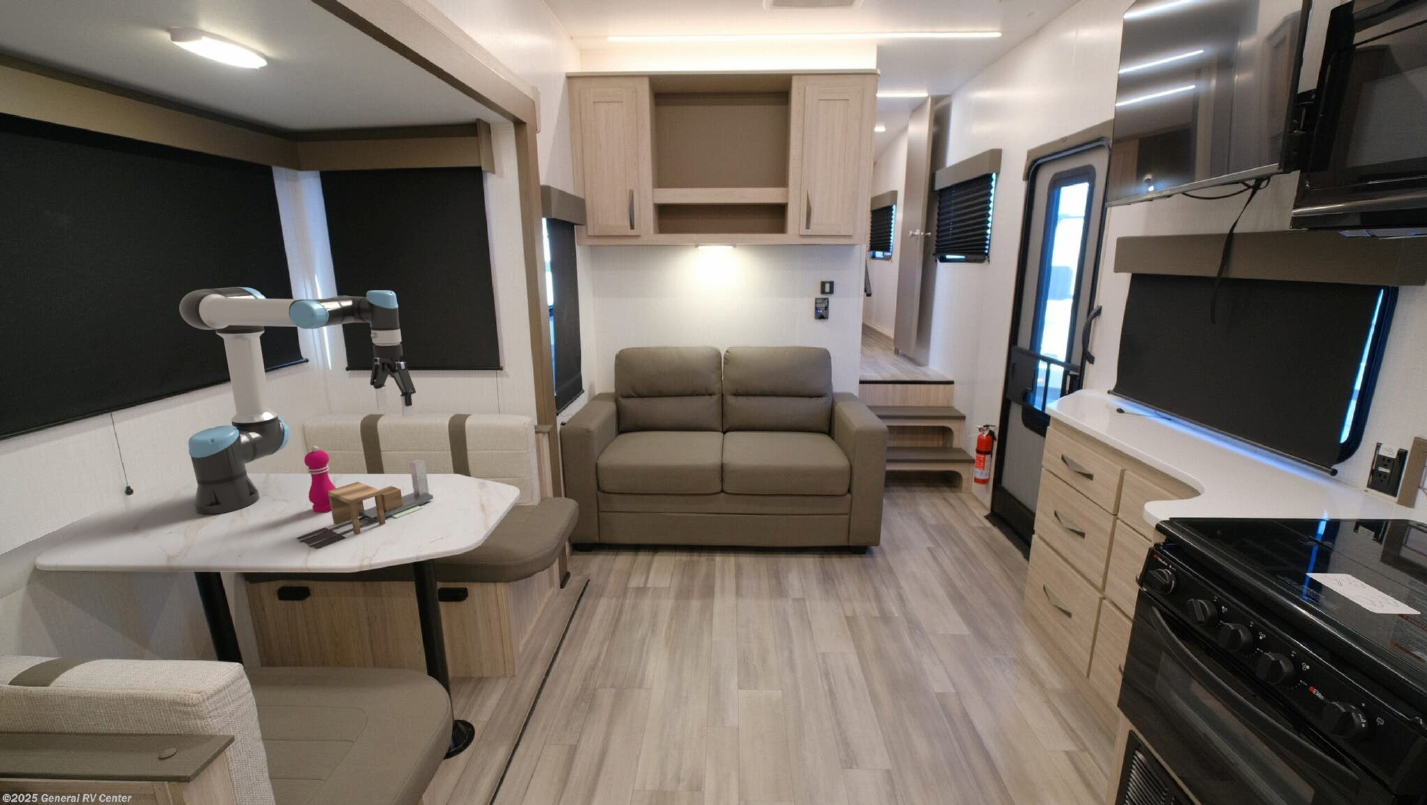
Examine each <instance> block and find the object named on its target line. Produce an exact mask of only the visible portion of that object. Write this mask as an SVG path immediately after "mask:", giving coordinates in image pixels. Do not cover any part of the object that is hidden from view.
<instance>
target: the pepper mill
mask: <svg viewBox="0 0 1427 805" xmlns="http://www.w3.org/2000/svg"><path fill="white" fill-rule="evenodd" d="M310 450H311V451H309V452H308V453H306V455H305V456H304V462H303V463H304V464H305V466H307V467H308V468H307V470H308V473H309V474H310V476H311V485H310V488H309V492H308V500H309V502H310V503H312V505H311V506H312V510H313V512H314V513H316V514H325V513H329V512H332V511H331V506H330V500H329V495H328V491H330V490H333V489H336V486H335V485H334V484H333V482H332V481H331V479H330V477H329V470H330V467H329V464H328V463H329V462H330V456H329V454H328V453H327V452H326V451H324V450H320V448H319V446H317V445H313V446H311V448H310Z"/></svg>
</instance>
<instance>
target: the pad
mask: <svg viewBox="0 0 1427 805" xmlns="http://www.w3.org/2000/svg"><path fill="white" fill-rule="evenodd" d="M422 509H423V507H422V506H421V505H420V506H415V507H412V508H409V509H407V510H404V511H402V512H399V513H396V514H394V515H391V517H392V518H395V519H399V518H401V517H403V516H406V515H410V514H411V513H414V512H416V511H419V510H422Z"/></svg>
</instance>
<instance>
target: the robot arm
mask: <svg viewBox="0 0 1427 805" xmlns="http://www.w3.org/2000/svg"><path fill="white" fill-rule="evenodd" d="M179 313H180V316H181V318H182V319H183V320H184V321H185V322H186V323H187V324H188V325H190V326H192V327H193V328H197V329H199V330H207V331H210V330H215V334H216V335H218V336H219V337H221V338H223V342H224V343H223V344H224V348H225V353H226V354H225V355H226V360H227V361H226V362H227V365H228V372H229V378H230V384H231V390H232V395H233V400H234V406H235V411H236V413H235V414H234V416H233V417H231V418H230V420H231V425H219V426H215V427H211V428H206V429H203V430H200V431H198V432H196V433H194V434H192V436H190V437H189V439H188V442H187V445H188V454H189V456H190V459H191V462H192V467H193V472H194V476H195V479H196V482H197V483H196V484H197V489H196V493H195V498H194V503H193V506H194V509H195V512H196V513H198V514H201V515H216V514H217V515H218V514H225V513H228V512H233V511H237V510H240V509H243V508H246V507H249V506H250V505H252V504H254V503H256V502H257V501H259V500H260V494H259V493H260V492H259V490H258V489H257V487H256V485H255V484H254V483H253V482H252V479H251V478H249V476H248V473H247V472H248V471H247V466H246V464H249V463H252V462H253V461H256V460H260V459H262V458H265V457H267V456H271V455H274V454H276V453H277V452H279V451H281V450H283V449H284V448H286V446H287V444H288V443H289V440H290V429H289V426H288V425H287V423H285V421H284V420H283V419H282V418H281V417H279V416H278V413H277V412H275V411H273V410H272V409H271V404H270V397H269V392H268V391H269V390H268V384H267V378H266V371H265V365H264V358H263V353H262V352H263V351H262V345H261V339H260V337H261V336H262V334H264V333H265V327H298V328H300V329H305V330H308V329H309V330H313V329H315V330H317V329H319V328H325V327H329V326H337V325H345V324H351V323H367V324H369V327H370V331H371V334H370V337H371V341H372V343H373V345H372V348H373V356H374V357H372V369H371V374H370V381H369V385H370V386H373V388H374V389H375V397H376V398H375V399H376V405H377V406H376V407H377V410H384V409H388V408H389V406H388V398H387V389H386V387H387V386H386V384H385V383H386V381H387V379H388V378H389V376H390V378H392V379H393V380H394V382H395V384H396V386H397V387H398V389H399V391H400V393H401V394H400V401H401V411H402V418H407V417H411V416H414V411H413V400H412V396H413V395H414V394H416V393H417V391H416V388H415V385H414V383H413V380H412V377H411V374H410V372H409V370H408V364H407V362H406V361H401V362H400V357H402V356H403V353H404V352H403V345H402V343H401V342H402V335H401V334H402V333H401V328H400V327H401V326H400V320H399V319H400V318H399V304H398V301H397V295H396V293H395V292H394V291H393V290H388V289H387V290H385V289H384V290H382V289H381V290H368V291H367V292H366V296H350V295H334V296H332V297H329V298H328V297H327V298H319V299H312V298H311V299H310V298H309V299H306V298H305V299H301V298H300V299H298V298H297V299H296V298H266V296H264V295H263V294H261V292H260V291H258V290H256V289H254V288H251V287H247V286H246V287H241V286H233V287H231V286H230V287H220V288H203V289H196V290H193V291H191V292H189V293H187V294H186V295H184V297H182V299H181V301H180V303H179Z"/></svg>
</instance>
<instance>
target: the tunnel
mask: <svg viewBox="0 0 1427 805" xmlns="http://www.w3.org/2000/svg"><path fill="white" fill-rule="evenodd" d="M328 495H329V500H330V506H331V511H330V512H331V516H332V522H333V526H339V525H341V524H344V523H347V522H350V521H352V524H351V525H352V528H353V531H352V532H353V534H354V535H356V536H357V535H359V534H361V533H362V531H361V528H360V525H361V524H360V521H359V519H358V518H360V517H361V516H360V514H359V512H361V511H364V510H365V507H364V501H366V500H369V499H371V498H374V503H375V506H376V509H377V515H378V525H380V526H383V525H385V524H386V519H385V517H384V511H383V504H382V498H381V491H380V489H378V488H375V487H372V486H370V485H368V484H367V485H366V484H365V483H362V482H359V481H355V482H353V483H349V484H345V485H343V486H340V487H337V488H336V489H333V490H330V491H328Z"/></svg>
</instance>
